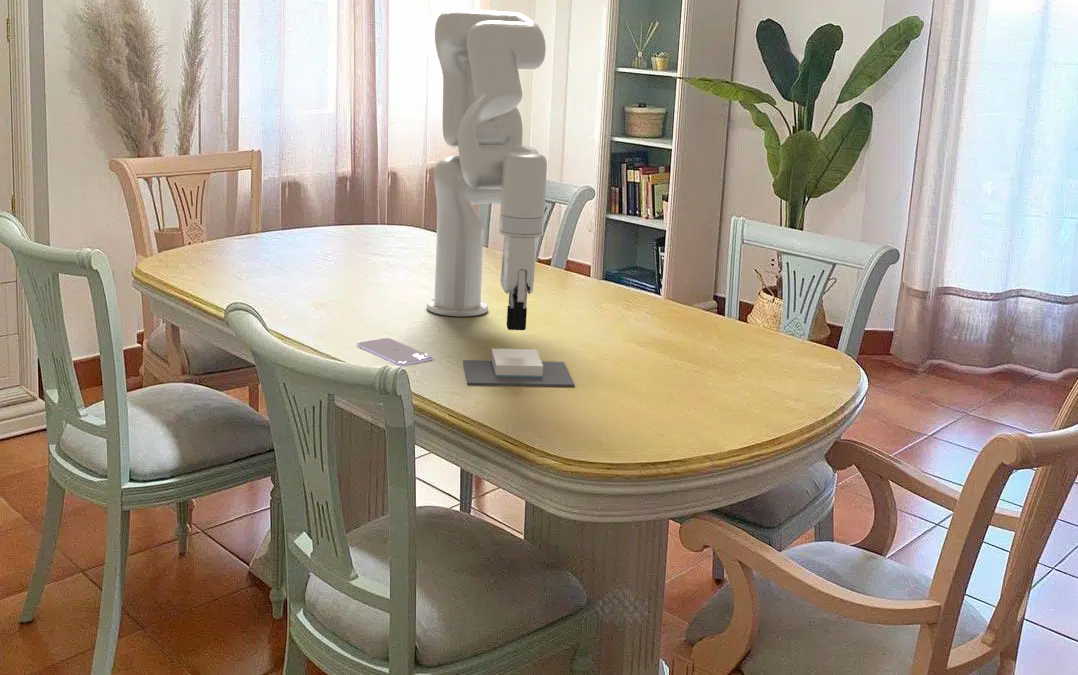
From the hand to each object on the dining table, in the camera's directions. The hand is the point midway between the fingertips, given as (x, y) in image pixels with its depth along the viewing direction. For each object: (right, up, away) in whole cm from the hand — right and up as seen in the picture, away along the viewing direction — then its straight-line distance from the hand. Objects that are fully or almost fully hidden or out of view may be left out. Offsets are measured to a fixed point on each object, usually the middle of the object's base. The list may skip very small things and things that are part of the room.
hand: (516, 328), depth 206 cm
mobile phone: (-22, -5, +5) cm, 23 cm away
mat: (0, -8, -3) cm, 9 cm away
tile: (-1, -5, +3) cm, 5 cm away
